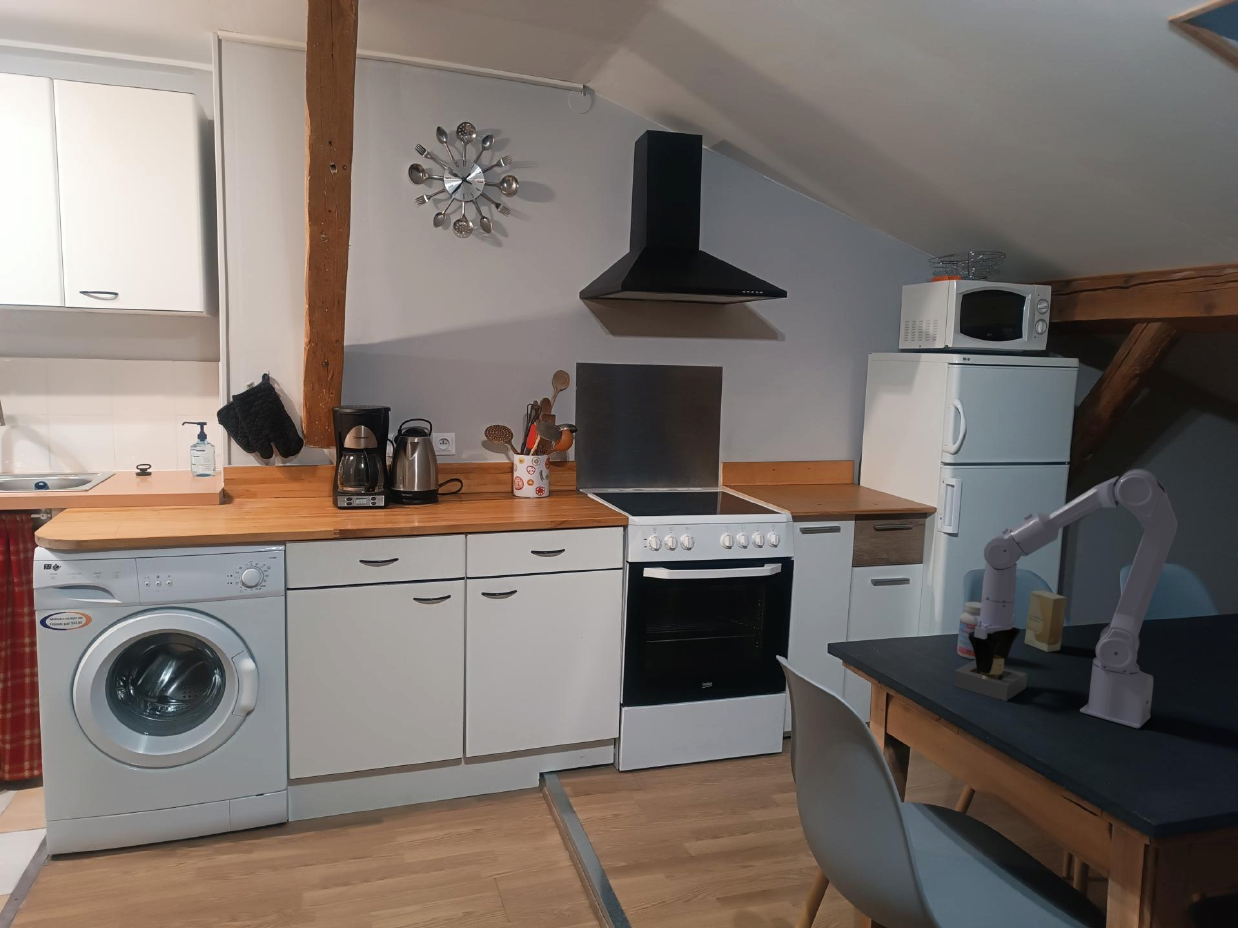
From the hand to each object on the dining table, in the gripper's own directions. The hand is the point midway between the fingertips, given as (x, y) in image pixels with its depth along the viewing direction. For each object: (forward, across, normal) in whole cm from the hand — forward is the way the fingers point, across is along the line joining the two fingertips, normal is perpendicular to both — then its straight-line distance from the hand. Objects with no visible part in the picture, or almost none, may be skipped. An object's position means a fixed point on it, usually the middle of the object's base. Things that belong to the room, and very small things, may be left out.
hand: (991, 667), depth 167 cm
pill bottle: (+4, -16, -10) cm, 19 cm away
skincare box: (+4, -35, -2) cm, 35 cm away
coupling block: (+4, 0, 0) cm, 4 cm away
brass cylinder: (+4, 0, 0) cm, 4 cm away
